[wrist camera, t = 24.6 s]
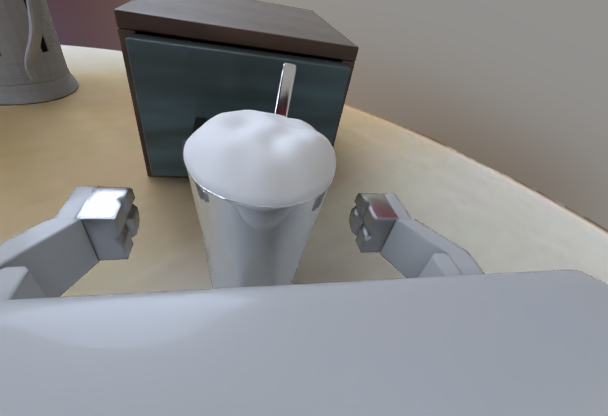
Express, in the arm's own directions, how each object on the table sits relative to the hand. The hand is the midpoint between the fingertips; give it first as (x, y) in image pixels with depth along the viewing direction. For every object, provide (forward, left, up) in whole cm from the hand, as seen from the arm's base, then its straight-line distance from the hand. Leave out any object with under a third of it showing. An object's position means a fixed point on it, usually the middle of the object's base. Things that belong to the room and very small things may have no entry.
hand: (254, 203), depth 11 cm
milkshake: (0, 0, -6) cm, 6 cm away
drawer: (-9, +9, -5) cm, 13 cm away
